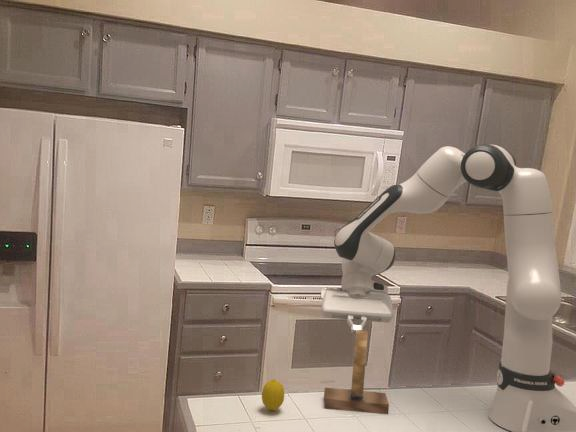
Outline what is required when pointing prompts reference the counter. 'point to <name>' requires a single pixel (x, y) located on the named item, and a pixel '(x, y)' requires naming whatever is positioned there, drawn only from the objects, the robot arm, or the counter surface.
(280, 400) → the lemon
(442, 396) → the counter surface
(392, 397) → the counter surface
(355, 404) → the brown wooden block
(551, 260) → the robot arm
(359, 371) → the tan wooden peg
